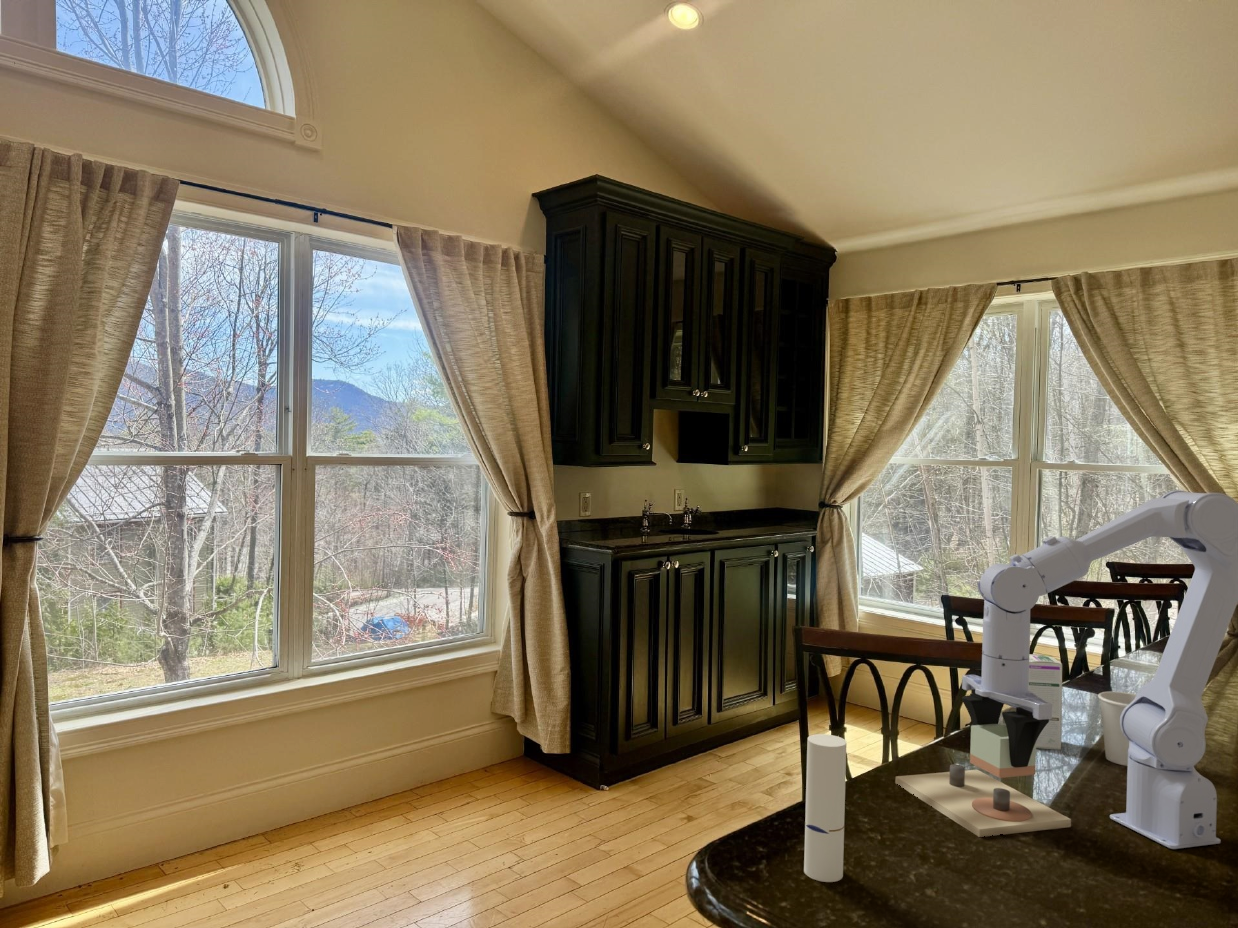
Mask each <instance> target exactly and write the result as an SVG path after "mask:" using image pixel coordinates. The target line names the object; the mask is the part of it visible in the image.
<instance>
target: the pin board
mask: <svg viewBox="0 0 1238 928" xmlns="http://www.w3.org/2000/svg"><path fill="white" fill-rule="evenodd" d="M894 782H895V784H896V785H897V784H898V785H897V786H899V785H900V786H901V787H900V786H899V787H900V788H902V789H903V788H904V790H906V791H907V792H908V793H909V794H912V795H913V794H914V795H913V796H915V797H916V798H917V797H918V798H917V799H919V800H921V801H922V802H924V803H925V804H927V805H928V806H930V807H931V806H932V808H933V809H935V810H936V811H938V812H939V813H941V814H943V815H944V816H946V817H948V819H950V820H952V821H953V822H955V823H956V824H958V825H959V826H961V827H963V828H965V829H966V830H968V831H969V832H970V833H973V835H975V836H977V837H978V838H982V837H984V836H985V837H990V836H991V837H993V836H1000V834H1003V835H1011V834H1019V833H1020V834H1021V833H1028V832H1037V831H1046V830H1057V829H1064V828H1071V827H1072V819H1071V818H1070V817H1068V816H1065V815H1063V814H1062V813H1060V812H1058V811H1057V810H1054V809H1052V808H1050V807H1049V806H1047V805H1046V804H1043V803H1042V802H1039V801H1038V800H1035V799H1033V798H1031V797H1029V796H1028V795H1026V794H1024V793H1023V792H1020V791H1019V790H1016V789H1015V788H1013V787H1011V786H1010V785H1008V784H1006V783H1003V782H1002V781H1000V780H998V779H996V778H994V777H992V776H991V775H988V774H987V773H984V772H983V771H981V770H979V769H969V770H966V767H965V766H963V765H961V764H956V763H955V764H954V763H953V764H950V765H949V771H945V772H936V773H935V772H931V773H922V774H910V775H898V776H895V781H894ZM992 835H993V836H992ZM985 837H984V838H985Z"/></svg>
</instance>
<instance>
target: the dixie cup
mask: <svg viewBox="0 0 1238 928" xmlns="http://www.w3.org/2000/svg"><path fill="white" fill-rule="evenodd" d="M1136 695H1137V693H1132V692H1126V691H1125V692H1124V691H1123V692H1122V691H1102V692H1099V693H1098V695H1097V697H1098V699H1099V706H1100V707H1099V708H1100V714H1101V725H1102V732H1103V733H1102V734H1103V741H1104V743H1103V744H1104V751H1105V759H1106V760H1108V761H1110V762H1111V763H1114V764H1118V765H1121V766H1126V767H1128V749H1129V740H1128V739H1127V738H1126V737H1125V736H1124V734H1123V732H1122V730H1121V728H1120V716H1121V713H1122V711H1123V710H1124V708H1125V707H1126V706H1127V705H1129V704H1130V703H1131V702H1132V701H1133V700H1134V699H1135V697H1136Z"/></svg>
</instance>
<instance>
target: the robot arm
mask: <svg viewBox="0 0 1238 928" xmlns="http://www.w3.org/2000/svg"><path fill="white" fill-rule="evenodd" d="M1152 537H1158V538H1159V537H1160V538H1169V539H1170V540H1171V541H1173V542H1174V543H1176V544H1177V546H1179V547H1181V549H1182V550H1183V552H1184V553H1185V554H1186V556H1187V557H1188V559H1189V560H1190V562H1191V563H1192V565H1193V566H1194V572H1193V575H1192V578H1191V580H1190V582H1189V584H1188V588H1187V590H1186V593H1185V594H1184V598H1183V600H1182V603H1181V606H1180V609H1179V611H1178V614H1177V616H1176V619H1175V622H1174V624H1173V627H1172V628H1171V629H1172V630H1171V632H1170V634H1169V638H1168V640H1167V643H1166V645H1165V648H1164V649H1163V653H1162V656H1161V658H1160V661H1159V663H1158V666H1157V669H1156V671H1155V674H1154V677H1153V678H1152V679H1151V680H1150V681H1148V682H1147V683H1145V684H1143V685H1142V686H1140V688H1139V689H1138V691H1137V692H1136V694H1137V695H1136V697H1135V699H1134V700H1133V701H1132V702H1131V703H1130V704H1129V705H1127V706H1126V707H1125V708H1124V710H1123V711H1122V713H1121V716H1120V728H1121V730H1122V732H1123V734H1124V736H1125V737H1126V738H1127V739H1128V740H1129V749H1128V766H1127V768H1126V769H1127V773H1126V807H1125V808H1126V809H1125V810H1126V811H1125V812H1121V813H1120V812H1119V813H1113V814H1110V815H1109V818H1110V819H1111V820H1113V821H1115V822H1116V823H1119V824H1121V825H1122V826H1125V827H1127V828H1128V829H1131V830H1133V832H1134V831H1135V832H1137V833H1138V834H1141V835H1142V836H1145V837H1146V838H1148V839H1150V840H1152V841H1155V842H1156V843H1158V844H1161V845H1162V846H1164V847H1167V848H1168V849H1171V850H1178V849H1184V848H1185V849H1186V848H1193V847H1194V848H1195V847H1201V846H1208V845H1210V846H1211V845H1216V844H1221V843H1222V842H1221V839H1220V838H1219V837H1217V813H1218V812H1217V810H1218V809H1217V806H1218V796H1217V790H1216V788H1215V785H1214V784H1213V782H1212V781H1211V780H1209V779H1208V778H1207V777H1204V776H1203V775H1201V774H1200V773H1199V772H1198V771H1197V770H1196V768H1195V765H1197V764H1198V763H1199V762H1200V761H1201V760H1202V758H1203V756H1204V755H1205V753H1206V747H1207V745H1206V744H1207V742H1206V737H1205V734H1206V733H1205V730H1206V726H1207V723H1208V721H1209V717H1208V715H1207V712H1206V708H1205V707H1204V704H1203V700H1202V696H1203V693H1204V692H1205V691H1204V690H1205V688H1206V686H1207V683H1208V680H1209V677H1210V676H1211V673H1212V670H1213V667H1214V665H1215V662H1216V660H1217V657H1218V655H1219V652H1220V649H1221V647H1222V644H1223V642H1224V639H1225V637H1226V633H1227V631H1228V629H1229V625H1230V623H1231V620H1232V618H1233V615H1234V612H1235V610H1236V607H1237V606H1238V502H1237V500H1235V499H1234V498H1233V497H1231V495H1227V494H1225V493H1221V492H1207V493H1205V492H1192V491H1191V492H1190V491H1185V490H1173V491H1169V492H1167V493H1165V494H1164V495H1162V496H1161V497H1155V498H1151V499H1149V500H1146V501H1144V502H1143V503H1141V504H1140V505H1139V506H1136V507H1135V508H1133V509H1131V510H1128V511H1127V512H1125V513H1123V514H1122V515H1119V516H1118V517H1116V518H1115V519H1112V520H1111V521H1109V522H1108V521H1107V523H1105V524H1103V525H1102V526H1099V527H1097V528H1096V529H1093V530H1092V531H1090V532H1088V533H1086V534H1084V535H1083V536H1081V537H1079V538H1077V539H1073V538H1071V537H1068V536H1060V537H1056V536H1048V537H1045V538H1044V539H1042V543H1043V544H1042V545H1040V546H1037V547H1036V548H1034V549H1032V550H1030V551H1027V552H1024V553H1023V554H1021V555H1019V554H1017V553H1016V554H1013V555H1011V556H1009V560H1010V564H1009V563H995V564H993V565H992V564H991V565H990V566H989V567H987V568H986V569H985V570H984V571H983V572H984V573H982V574H981V576H980V580H979V581H978V582H977V589H978V592H979V595H980V596H981V597H982V599H983V600H984V601H983V602H984V603H983V604H984V605H983V618H982V645H981V646H982V647H981V650H982V651H981V653H982V654H981V676H979V675H976V674H963V675H962V678H961V679H962V680H961V689H963V690H964V691H971V692H970V693H969V695H963V696H962V697H961V698H962V700H961V701H962V703H963V705H964V706H965V708H966V710H967V713H968V715H969V716H970V717H969V718H970V720H971V723H972V726H973V725H987V724H1000V722H999V721H1000V717H1001V716H1002V718H1003V721H1004V723H1005V724H1006V727H1007V731H1008V737H1009V754H1010V762H1011V766H1013V767H1015V768H1017V767H1027V766H1028V763H1029V760H1030V757H1031V754H1032V751H1033V748H1034V745H1035V743H1036V741H1037V739H1038V737H1039V735H1040V733H1041V732H1042V730H1043V729H1044V727H1045V726H1046V725H1047V723H1048V722H1049V719H1052V704H1051V703H1049V702H1047V701H1044V700H1043V699H1041V698H1040V697H1038V696H1037V695H1035V694H1034V693H1032V692H1031V691H1029V690H1028V689H1029V654H1030V651H1031V650H1030V649H1031V609H1033V608H1034V606H1035V605H1036V604H1037V602H1038V601H1039V599H1040V597H1042V596H1045V595H1046V594H1048V593H1052V592H1053V591H1055V590H1057V589H1059V588H1061V587H1063V586H1066V585H1068V584H1071V583H1072V582H1074V581H1077V580H1079V579H1081V578H1082V577H1085V576H1086V575H1087V574H1088V573H1089V570H1090V567H1091V564H1092V562H1094V561H1096V560H1098V559H1101V558H1104V557H1106V556H1108V555H1110V554H1113V553H1115V552H1117V551H1119V550H1122V549H1124V548H1127V547H1130V546H1133V545H1134V544H1137V543H1140V542H1141V541H1144V540H1146V539H1149V538H1152ZM1004 705H1006V706H1009V707H1011V708H1013V709H1015V711H1014V710H1012V711H1002V710H1003V707H1004Z"/></svg>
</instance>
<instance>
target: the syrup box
mask: <svg viewBox="0 0 1238 928" xmlns="http://www.w3.org/2000/svg"><path fill="white" fill-rule="evenodd" d="M1028 690H1029V691H1031V692H1032V693H1034V694H1035V695H1037V696H1038V697H1040V698H1041V699H1043V700H1044V701H1047V702H1049V703H1051V704H1052V719H1049V722H1048V723H1047V725H1046V726H1045V727H1044V729H1043V730H1042V732H1041V733H1040V735H1039V737H1038V739H1037V741H1036V749H1044V750H1045V749H1047V750H1061V749H1062V735H1063V734H1062V730H1063V729H1062V727H1063V726H1062V725H1063V724H1062V723H1063V722H1062V721H1063V720H1062V719H1063V713H1062V712H1063V711H1062V710H1063V663H1062V662H1061V661H1059V660H1057V658H1055V657H1053V656H1051V655H1046V654H1037V653H1035V654H1033V653H1032V654H1029V689H1028Z"/></svg>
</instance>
